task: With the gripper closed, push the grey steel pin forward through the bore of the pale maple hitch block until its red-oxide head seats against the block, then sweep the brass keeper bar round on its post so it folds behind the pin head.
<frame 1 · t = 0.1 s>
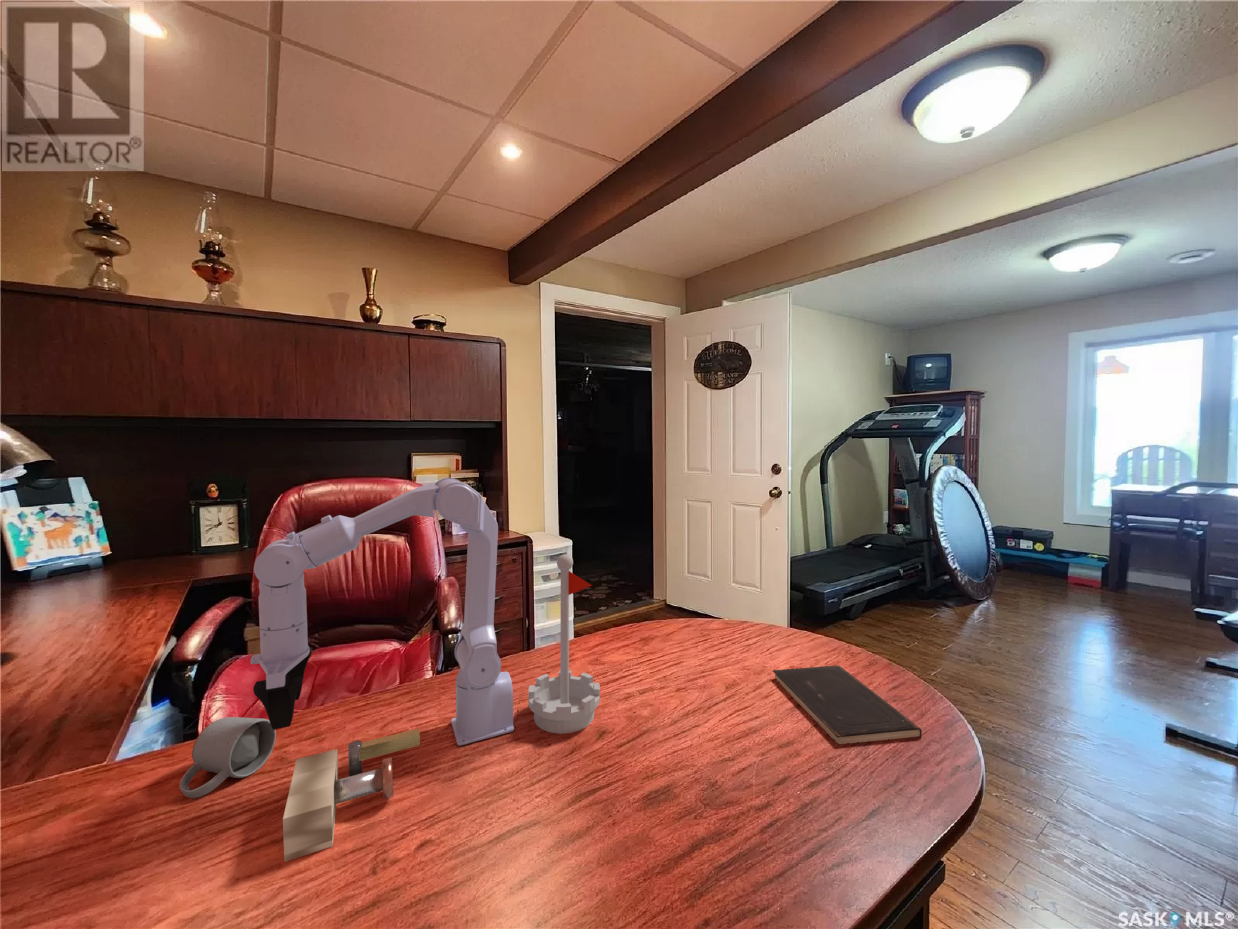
hand: (286, 712, 72), 10 cm above the table, fingers open, 7 cm apart
hardcover book: (839, 708, 94), on the table
flag stand: (564, 716, 89), on the table
ceramic mug: (227, 776, 73), on the table
pin: (358, 785, 67), point 3 cm above the table, slide at 0.0 cm
keeper bar: (385, 751, 75), point 2 cm above the table, hinge at 0.0°
hitch block: (314, 819, 65), on the table
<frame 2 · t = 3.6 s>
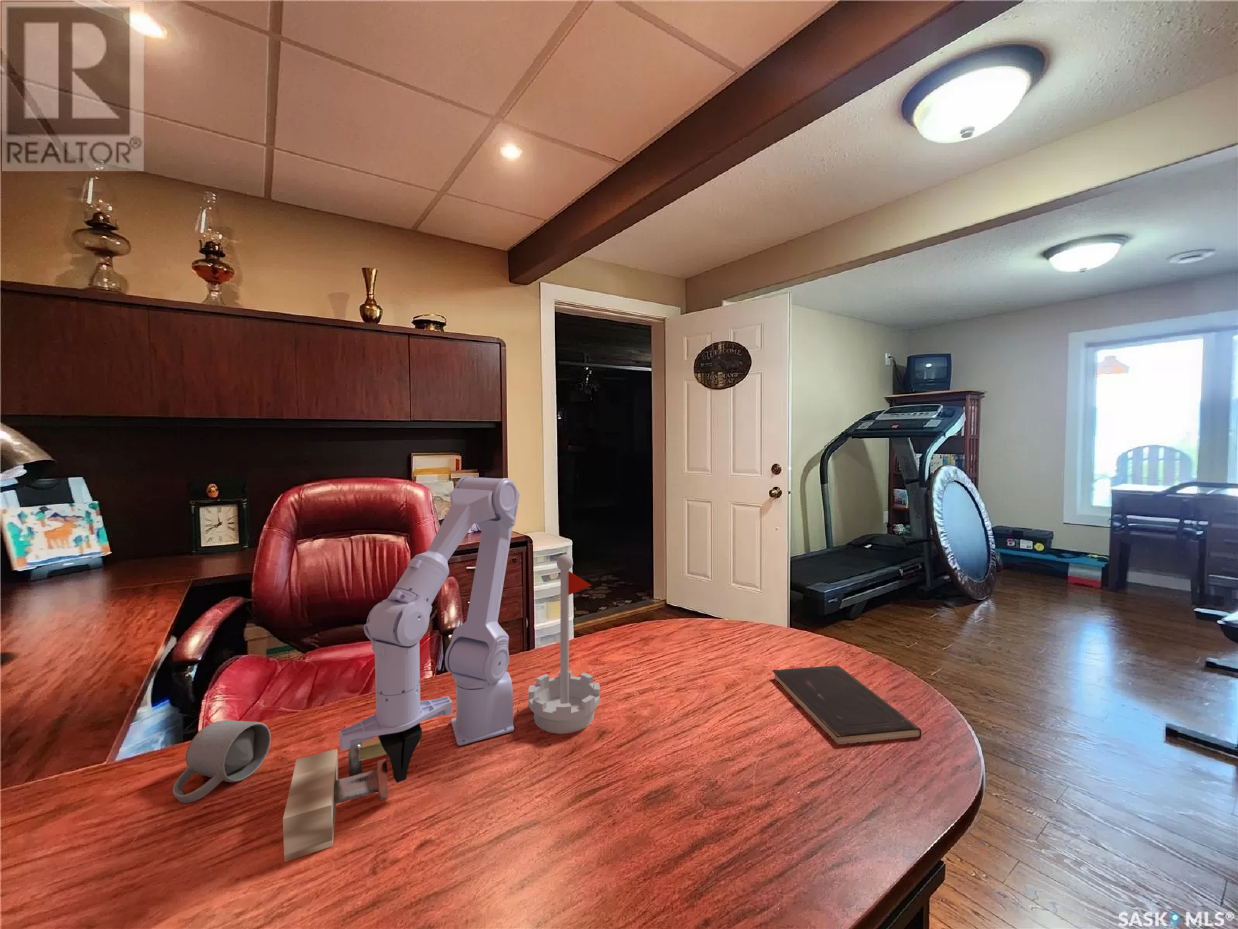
hand: (399, 777, 69), 2 cm above the table, fingers closed
pin: (353, 787, 67), point 3 cm above the table, slide at 0.7 cm, touching gripper
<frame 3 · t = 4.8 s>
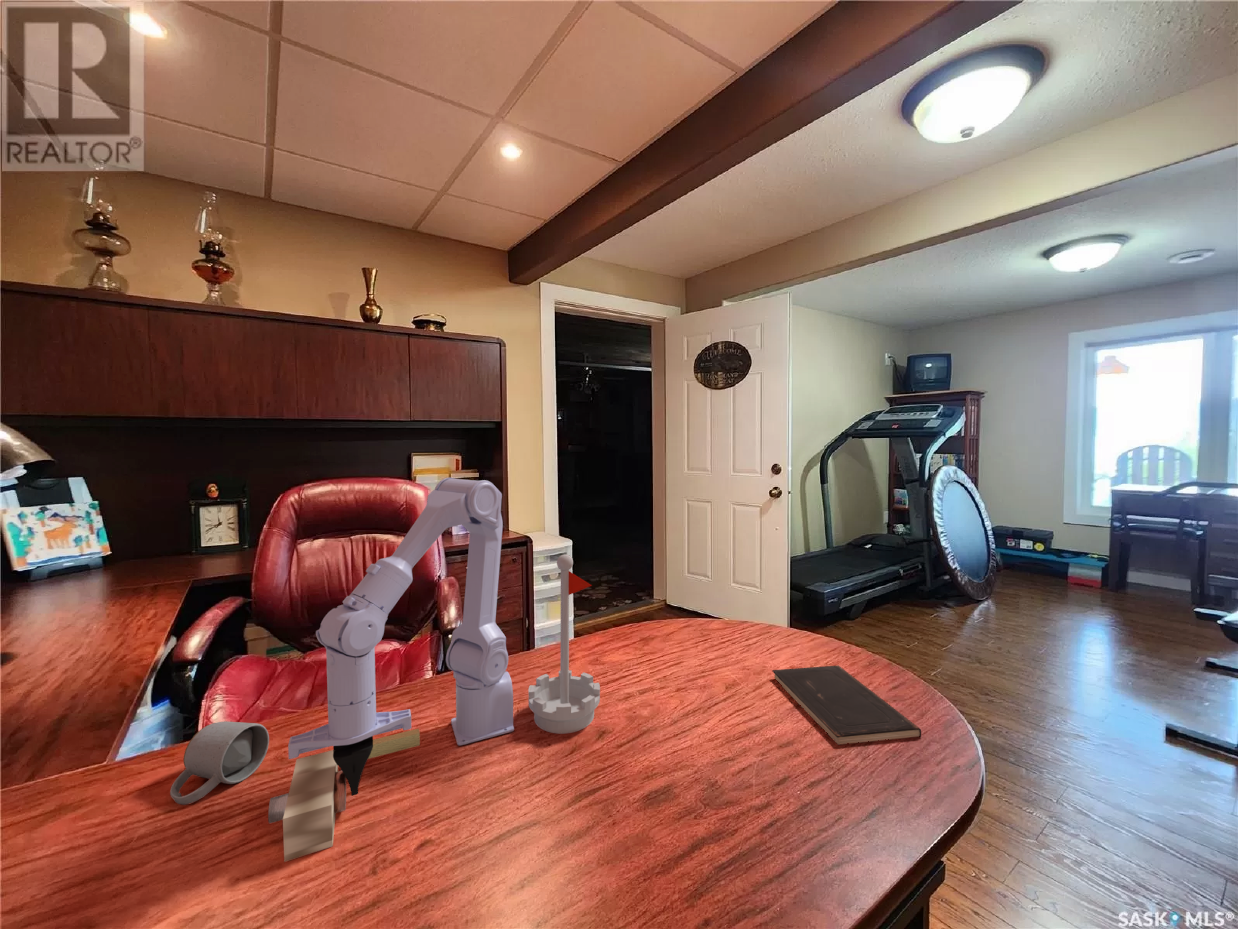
hand: (354, 790, 67), 2 cm above the table, fingers closed
pin: (308, 799, 64), point 3 cm above the table, slide at 5.8 cm, touching gripper, hitch block
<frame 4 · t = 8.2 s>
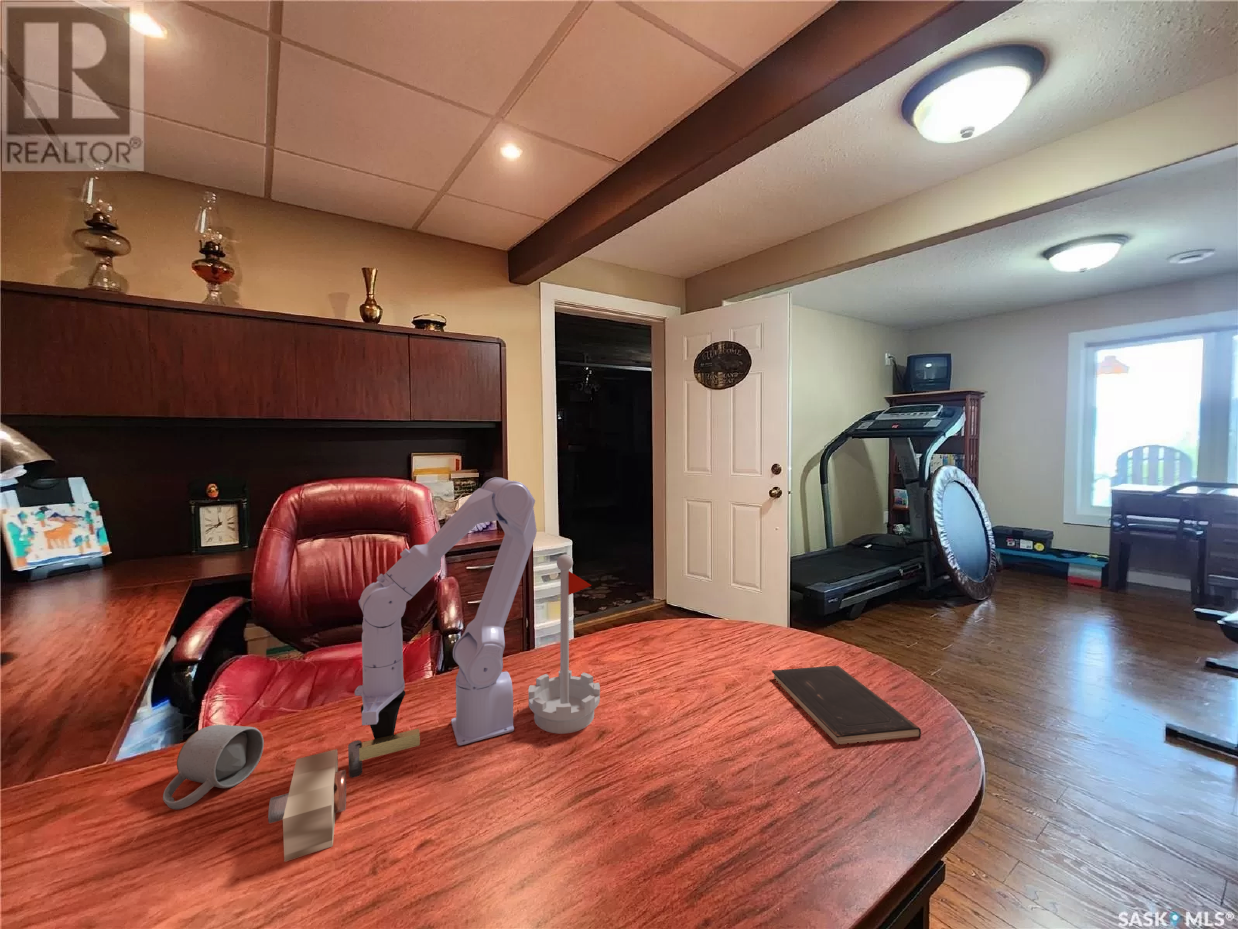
hand: (384, 742, 77), 2 cm above the table, fingers closed, pressing on keeper bar
pin: (308, 799, 64), point 3 cm above the table, slide at 5.8 cm, touching hitch block
keeper bar: (385, 751, 75), point 2 cm above the table, hinge at 0.0°, touching gripper
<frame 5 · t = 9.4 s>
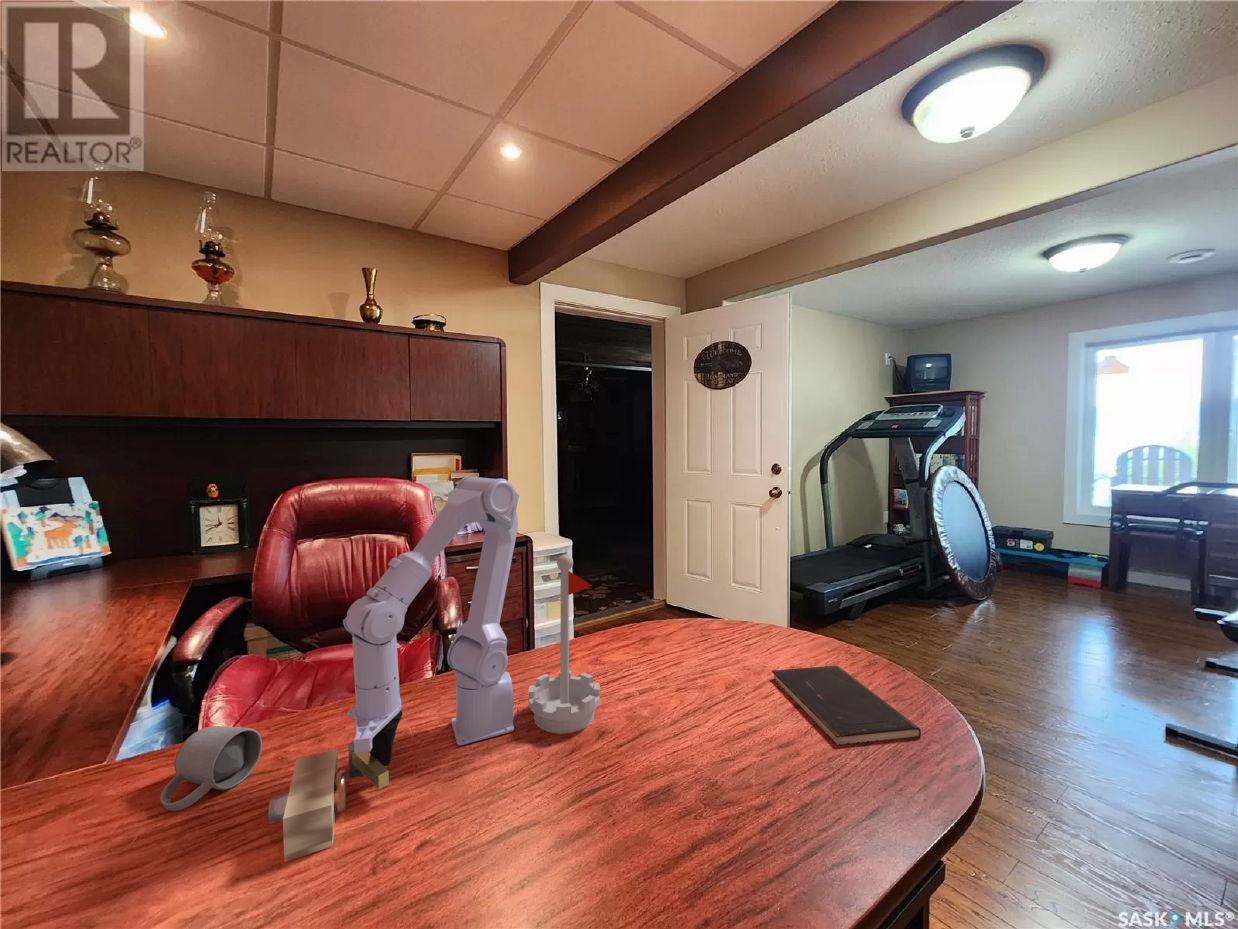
hand: (381, 765, 72), 2 cm above the table, fingers closed, pressing on keeper bar
keeper bar: (367, 770, 71), point 2 cm above the table, hinge at 65.8°, touching gripper
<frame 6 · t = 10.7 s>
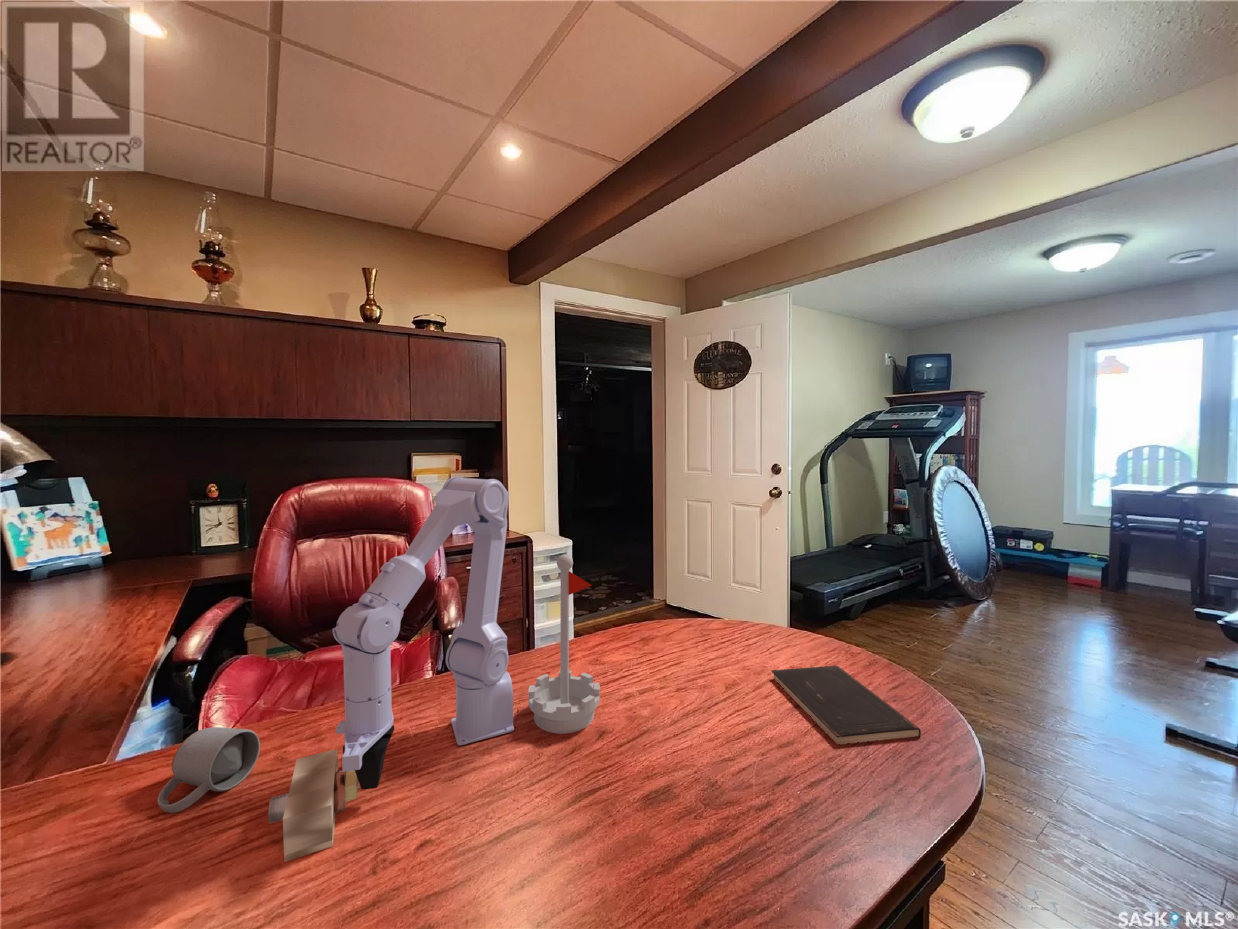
hand: (370, 785, 68), 2 cm above the table, fingers closed
pin: (308, 799, 64), point 3 cm above the table, slide at 5.8 cm, touching hitch block, keeper bar
keeper bar: (353, 776, 70), point 2 cm above the table, hinge at 92.0°, touching gripper, pin
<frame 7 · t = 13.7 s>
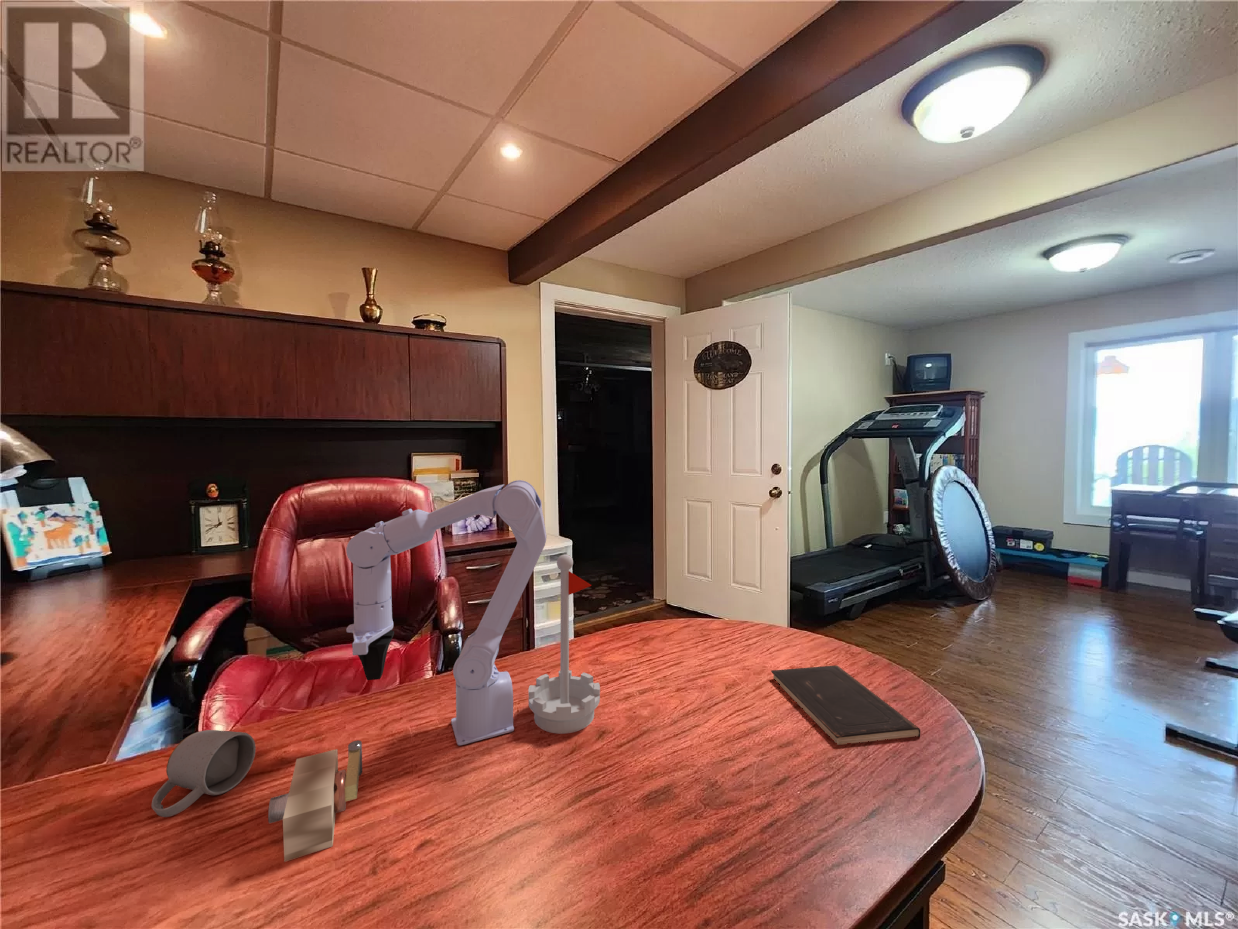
hand: (374, 677, 83), 10 cm above the table, fingers closed
keeper bar: (353, 776, 70), point 2 cm above the table, hinge at 91.9°, touching pin
at the end: pin slide at 5.8 cm; keeper bar at +92° (first picture: +0°) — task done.
